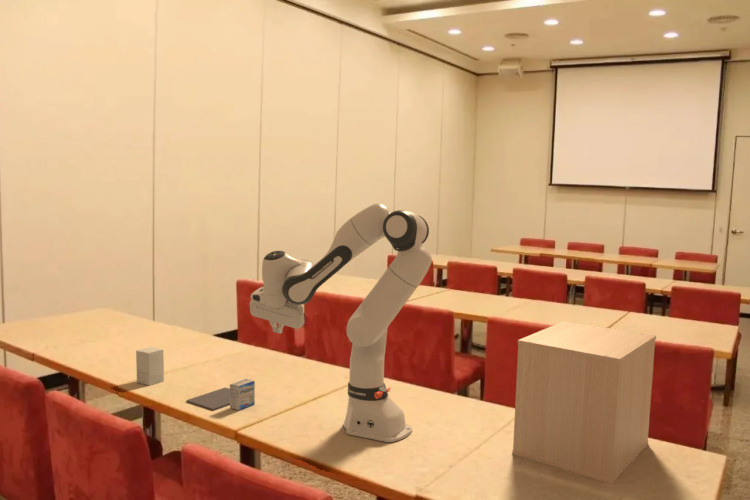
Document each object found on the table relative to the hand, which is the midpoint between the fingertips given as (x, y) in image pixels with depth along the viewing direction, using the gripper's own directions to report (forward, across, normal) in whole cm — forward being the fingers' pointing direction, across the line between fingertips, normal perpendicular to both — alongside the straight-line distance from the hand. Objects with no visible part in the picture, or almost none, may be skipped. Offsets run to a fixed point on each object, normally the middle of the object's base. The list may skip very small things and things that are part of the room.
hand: (277, 332), depth 224 cm
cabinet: (+15, -104, -8) cm, 105 cm away
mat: (+26, +17, +13) cm, 34 cm away
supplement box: (+32, +52, +11) cm, 62 cm away
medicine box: (+24, +6, +14) cm, 29 cm away
